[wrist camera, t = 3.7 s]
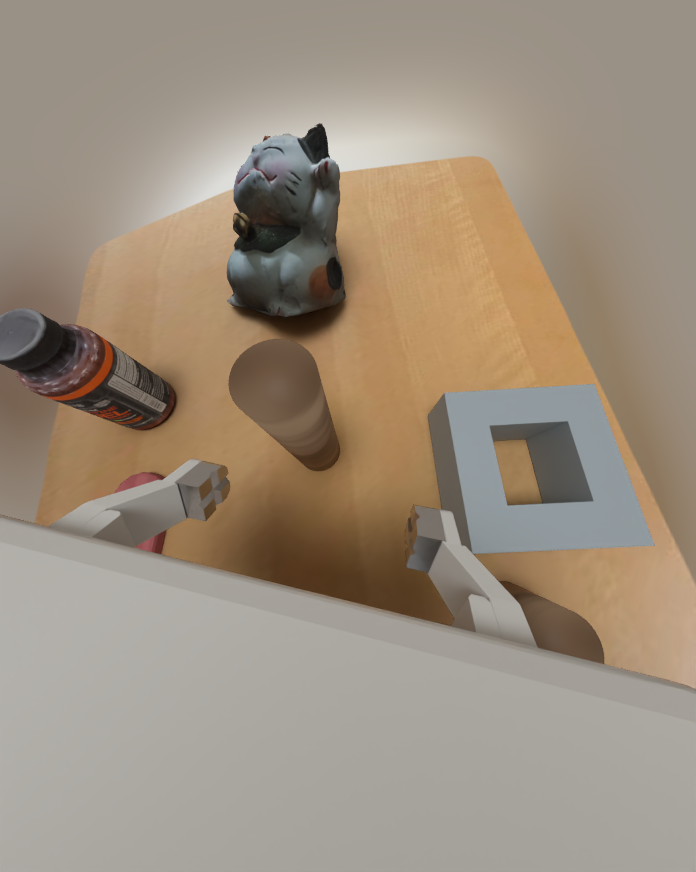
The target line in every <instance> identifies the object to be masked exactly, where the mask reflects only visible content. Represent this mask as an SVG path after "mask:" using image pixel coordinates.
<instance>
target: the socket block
mask: <svg viewBox="0 0 696 872" xmlns="http://www.w3.org/2000/svg"><path fill="white" fill-rule="evenodd" d="M428 420H429V427H430V433H431V440H432V447H433V453H434V460H435V467H436V473H437V480H438V486H439V493H440V500H441V506H442V510H446V511H451V512H452V513H453V516H454V520H455V523H456V527H457V531H458V534H459V538H460V542H461V545H462V546H466V547H467V548H468V549H469V551H470V552H471V553H472V554H483V553H504V552H526V551H548V550H569V549H591V548H613V547H634V546H655V545H654V542H653V539H652V537H651V534H650V531H649V529H648V526H647V523H646V521H645V518H644V515H643V513H642V510H641V507H640V505H639V502H638V499H637V497H636V494H635V491H634V489H633V486H632V483H631V481H630V478H629V475H628V473H627V470H626V467H625V465H624V462H623V459H622V457H621V454H620V451H619V449H618V446H617V443H616V441H615V438H614V435H613V433H612V430H611V427H610V425H609V422H608V419H607V417H606V414H605V411H604V409H603V406H602V403H601V401H600V398H599V395H598V393H597V390H596V387H595V384H587V385H570V386H553V387H536V388H519V389H503V390H486V391H469V392H452V393H444V394H443V395H442V397H441V398H440V400H439V401H438V402H437V404H436V405H435V406H434V408H433V409H432V410H431V412H430V413H429V415H428ZM520 439H526V441H527V445H528V448H529V452H530V456H531V460H532V463H533V467H534V471H535V475H536V478H537V482H538V486H539V490H540V493H541V497H542V501H543V504H524V505H507V502H506V497H505V493H504V488H503V484H502V480H501V475H500V471H499V466H498V462H497V457H496V453H495V448H494V444H493V441H502V440H520Z"/></svg>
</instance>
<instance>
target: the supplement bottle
mask: <svg viewBox="0 0 696 872" xmlns="http://www.w3.org/2000/svg"><path fill="white" fill-rule="evenodd" d="M0 364H2V365H5V366H6V367H8V368H10V369H13V370H15V372H16V375H17V377H18V378H19V380H20V382H21V383H22V384H23V385H24V386H25V387H27V388H28V389H29V390H31V391H33V392H35V393H37V394H39V395H42V396H45V397H47V398H50V399H52V400H55V401H57V402H60V403H63V404H66V405H68V406H71V407H74V408H76V409H79V410H82V411H85V412H88V413H90V414H93V415H96V416H98V417H101V418H104V419H106V420H109V421H112V422H115V423H117V424H120V425H123V426H125V427H129V428H132V429H140V430H143V429H148V428H151V427H154V426H156V425H158V424H160V423H161V422H163V421H164V420H165V419H166V418H167V416H168V415H169V414H170V412H171V411H172V408H173V406H174V402H175V400H174V399H175V396H174V392H173V389H172V388H171V386H170V385H169V384H168V383H167V382H165V381H164V380H163V379H162V378H160V377H159V376H157V375H156V374H154V373H153V372H152V371H150V370H149V369H147V368H146V367H144V366H143V365H141V364H140V363H138V362H137V361H136V360H134V359H133V358H131V357H130V356H128V355H127V354H125V353H124V352H122V351H121V350H120V349H118V348H117V347H115V346H114V345H112V344H111V343H110V342H108V341H106V340H105V339H103V338H102V337H100V336H99V335H97V334H96V333H94V332H93V331H91V330H89V329H87V328H85V327H82V326H78V325H71V324H63V325H59V324H58V323H57V322H55V321H53V320H51V319H49V318H47V317H45V316H44V315H42V314H41V313H39V312H37V311H35V310H32V309H17V310H12V311H9V312H7V313H5V314H2V315H1V316H0Z"/></svg>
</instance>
